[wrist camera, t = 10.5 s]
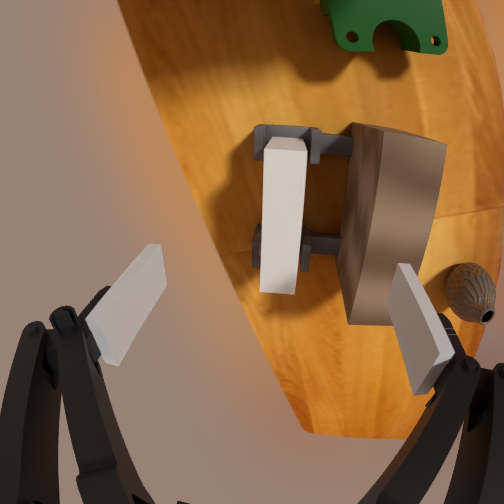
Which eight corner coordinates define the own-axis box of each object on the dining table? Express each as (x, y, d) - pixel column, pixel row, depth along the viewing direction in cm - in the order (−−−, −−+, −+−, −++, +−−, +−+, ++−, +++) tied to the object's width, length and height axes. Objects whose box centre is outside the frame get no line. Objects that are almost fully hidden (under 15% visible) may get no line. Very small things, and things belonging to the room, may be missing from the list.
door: (267, 136, 27) (257, 148, 20) (302, 138, 27) (307, 151, 19) (264, 244, 33) (253, 291, 25) (295, 246, 33) (294, 294, 25)
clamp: (340, 47, 26) (319, 53, 20) (330, 1, 22) (305, -7, 16) (443, 53, 20) (456, 59, 14) (436, 3, 16) (447, -7, 11)
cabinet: (259, 114, 27) (241, 118, 17) (397, 129, 25) (446, 144, 16) (256, 255, 35) (241, 316, 25) (374, 264, 33) (399, 325, 23)
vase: (473, 245, 30) (506, 281, 22) (482, 281, 32) (510, 319, 24) (433, 272, 32) (459, 314, 25) (445, 305, 34) (468, 348, 27)
